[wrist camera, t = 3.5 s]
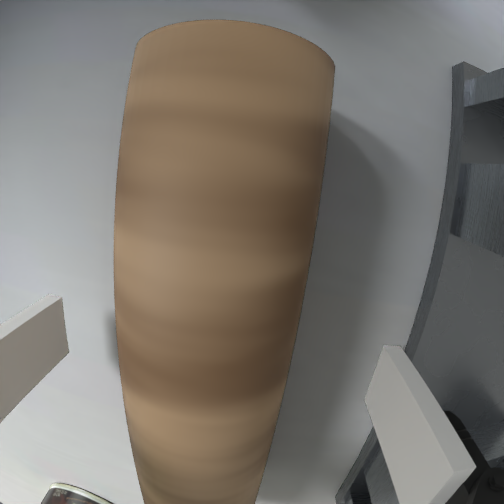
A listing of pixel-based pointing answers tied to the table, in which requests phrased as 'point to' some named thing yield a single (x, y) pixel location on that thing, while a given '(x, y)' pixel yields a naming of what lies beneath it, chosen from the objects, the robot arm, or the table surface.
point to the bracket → (459, 288)
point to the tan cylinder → (214, 247)
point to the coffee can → (70, 495)
